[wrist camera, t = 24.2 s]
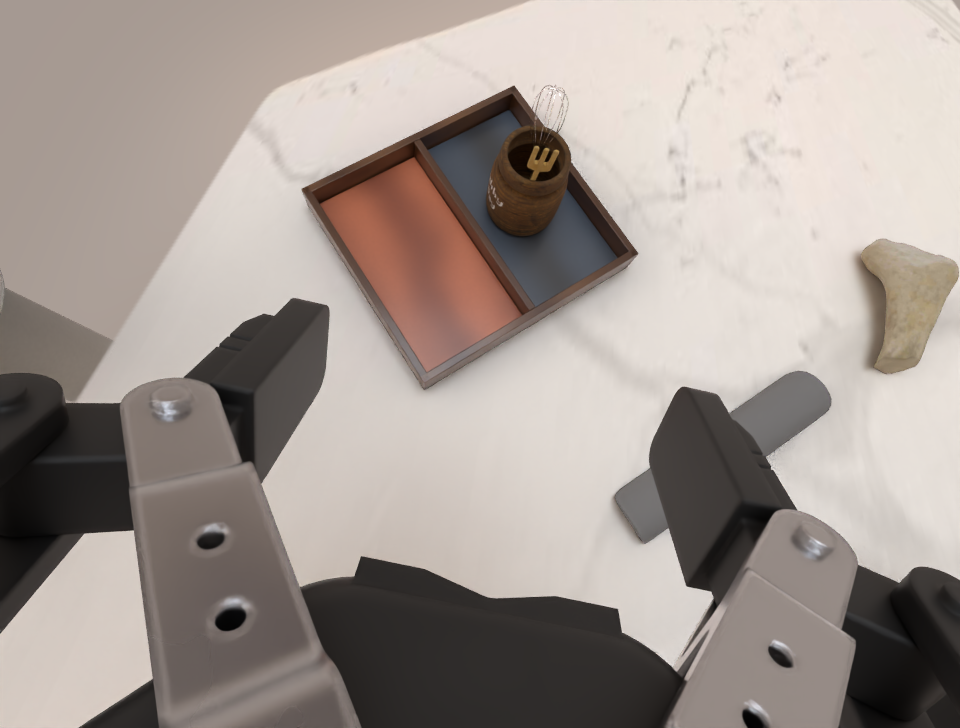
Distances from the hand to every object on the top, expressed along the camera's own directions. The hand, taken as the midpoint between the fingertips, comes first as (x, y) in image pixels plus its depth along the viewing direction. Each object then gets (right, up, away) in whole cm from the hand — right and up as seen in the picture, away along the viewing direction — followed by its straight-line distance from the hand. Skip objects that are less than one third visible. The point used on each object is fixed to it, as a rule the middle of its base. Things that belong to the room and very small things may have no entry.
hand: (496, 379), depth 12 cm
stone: (+34, +5, +34) cm, 49 cm away
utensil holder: (+3, +13, +32) cm, 35 cm away
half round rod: (+19, -7, +30) cm, 36 cm away
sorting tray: (-1, +11, +32) cm, 34 cm away
